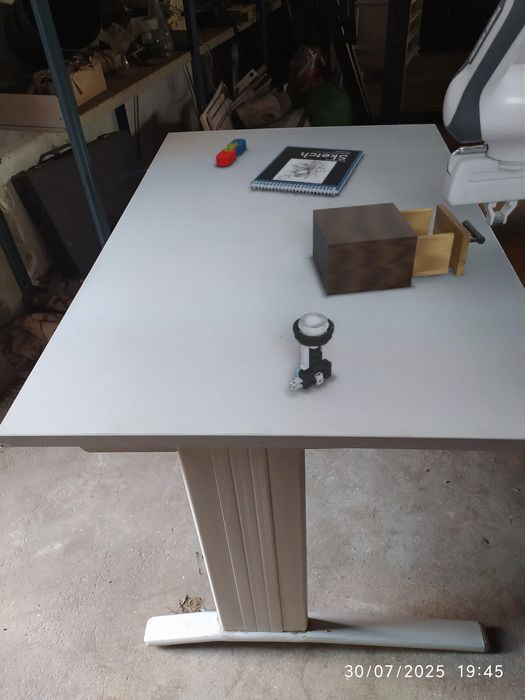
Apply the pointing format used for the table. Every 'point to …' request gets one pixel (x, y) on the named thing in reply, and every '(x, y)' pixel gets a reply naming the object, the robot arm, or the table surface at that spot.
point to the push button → (312, 349)
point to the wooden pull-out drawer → (440, 241)
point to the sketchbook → (309, 170)
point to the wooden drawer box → (363, 248)
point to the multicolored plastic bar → (230, 152)
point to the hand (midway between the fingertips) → (495, 223)
